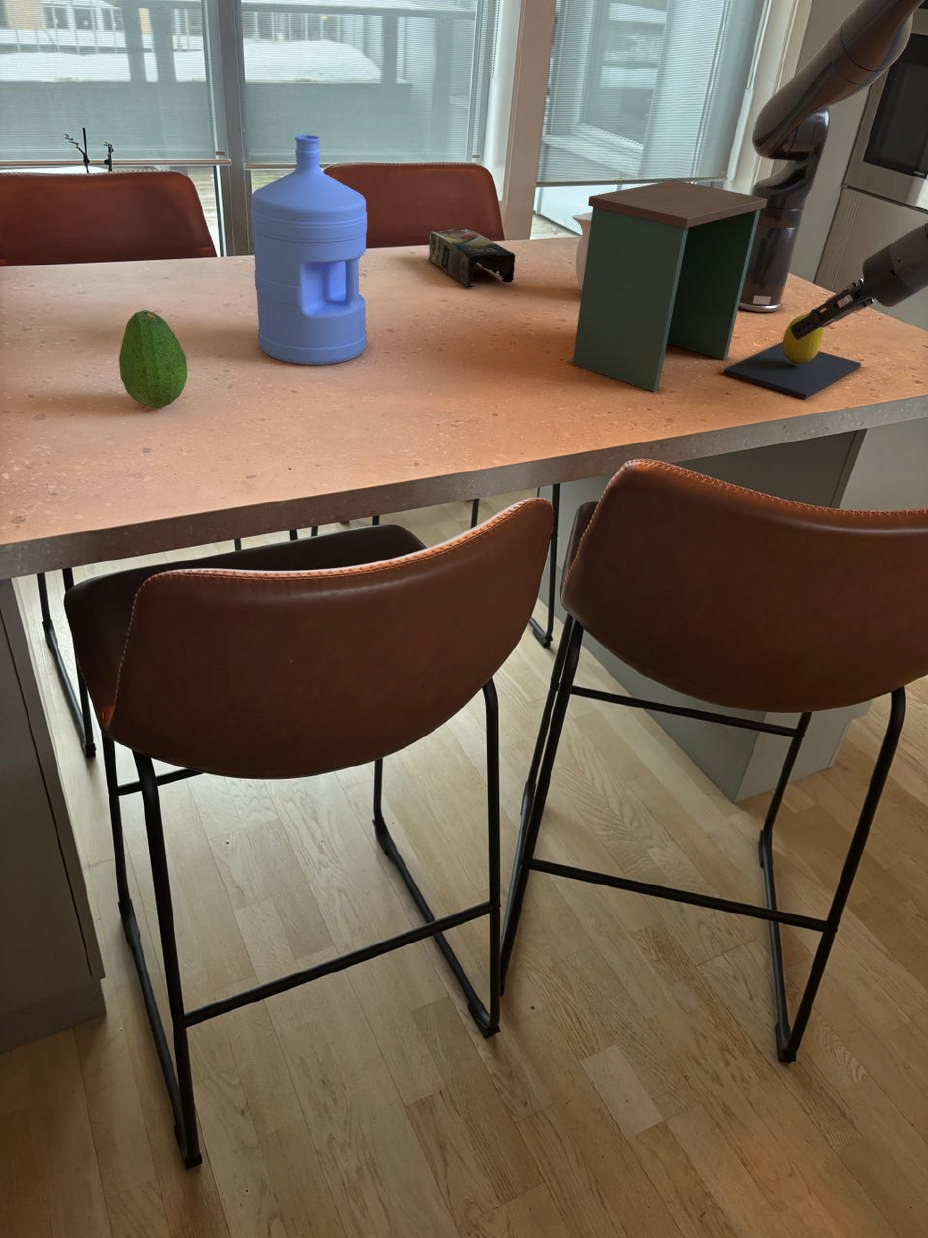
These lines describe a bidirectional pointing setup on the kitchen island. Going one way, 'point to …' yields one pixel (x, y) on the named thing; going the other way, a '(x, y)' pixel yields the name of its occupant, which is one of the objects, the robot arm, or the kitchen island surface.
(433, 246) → the dark printed box
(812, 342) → the lemon
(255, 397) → the kitchen island surface
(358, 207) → the water jug
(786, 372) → the mat
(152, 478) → the kitchen island surface
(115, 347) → the kitchen island surface
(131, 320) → the avocado
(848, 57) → the robot arm
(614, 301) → the cupboard
